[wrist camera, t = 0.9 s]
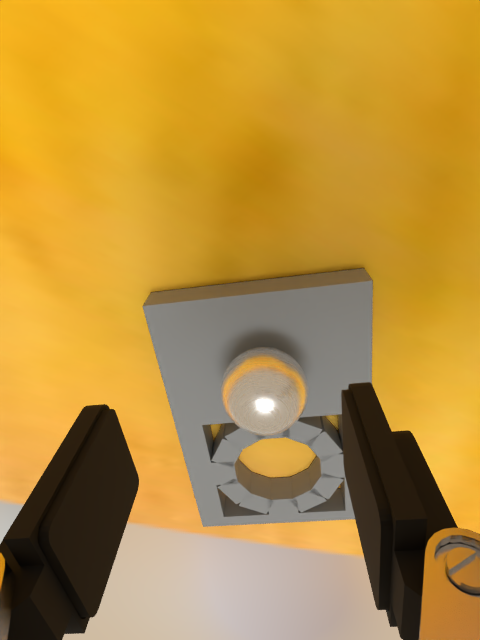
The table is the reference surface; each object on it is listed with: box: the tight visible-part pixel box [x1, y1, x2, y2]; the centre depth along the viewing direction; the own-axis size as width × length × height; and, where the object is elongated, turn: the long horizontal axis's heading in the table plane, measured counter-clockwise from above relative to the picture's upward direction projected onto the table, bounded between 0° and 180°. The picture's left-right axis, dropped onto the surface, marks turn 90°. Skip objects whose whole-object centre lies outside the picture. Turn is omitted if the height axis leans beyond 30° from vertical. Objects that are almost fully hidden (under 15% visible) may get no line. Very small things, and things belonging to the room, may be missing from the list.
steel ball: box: [221, 347, 308, 436], centre depth 27 cm, size 6×6×6 cm
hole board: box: [143, 268, 373, 527], centre depth 34 cm, size 16×24×2 cm, turn 8°
